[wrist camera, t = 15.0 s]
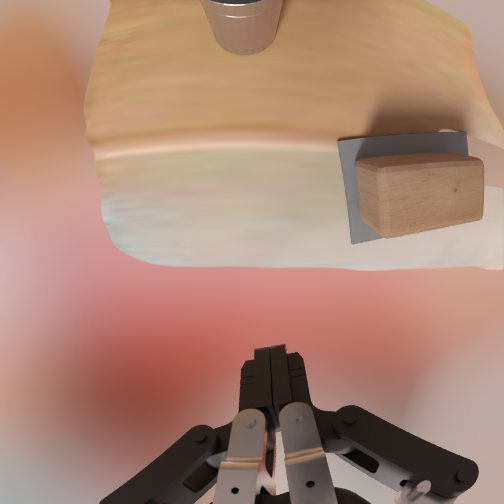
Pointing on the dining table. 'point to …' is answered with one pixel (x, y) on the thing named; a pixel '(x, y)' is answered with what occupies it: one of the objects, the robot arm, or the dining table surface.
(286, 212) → the dining table surface
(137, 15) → the dining table surface
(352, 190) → the rubber mat
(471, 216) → the wooden block
